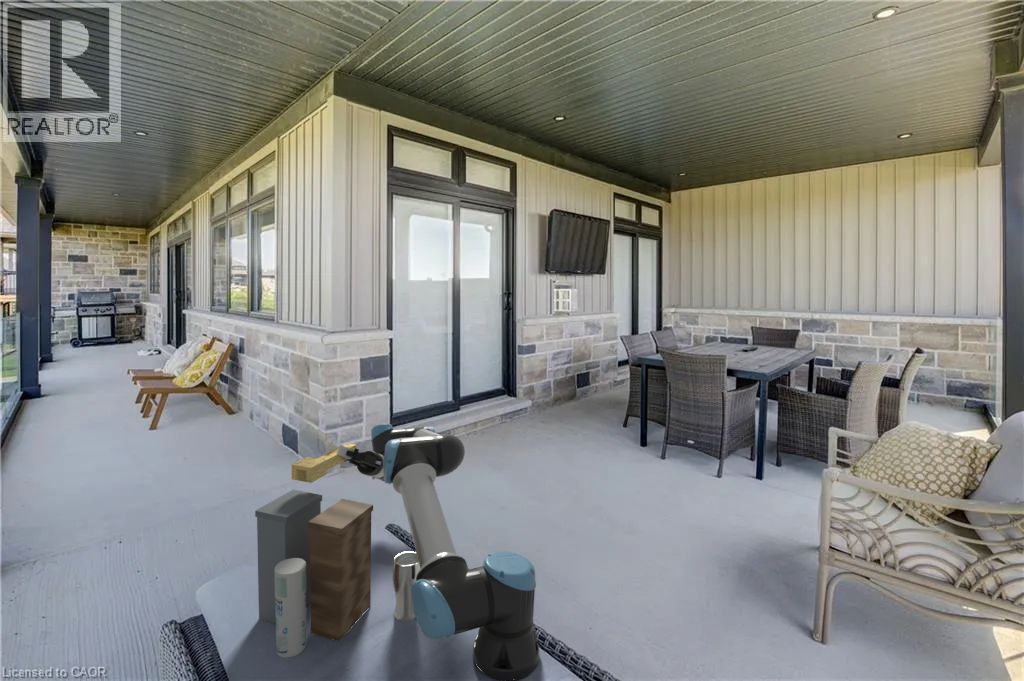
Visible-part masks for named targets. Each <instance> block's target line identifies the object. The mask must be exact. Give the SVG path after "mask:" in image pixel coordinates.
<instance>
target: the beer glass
mask: <svg viewBox="0 0 1024 681" xmlns="http://www.w3.org/2000/svg"><path fill="white" fill-rule="evenodd" d="M419 571H420V565H419V561H418V557H417V553H416V551H415V552H414V551H403V552H401V553H398V554H397V555H395V557H394V558H393V566H392V586H393V590H394V596H395V605H394V610H393V617H394V619H396V620H397V619H398V620H397V621H399V620H400V621H399V622H403V621H406V622H411V621H413V620H414V619H416V617H415V613H414V609H413V607H414V605H413V602H412V586H413V584H414V583H415V582H416V576H417V574H418V572H419Z"/></svg>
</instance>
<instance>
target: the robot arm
mask: <svg viewBox="0 0 1024 681" xmlns="http://www.w3.org/2000/svg"><path fill="white" fill-rule="evenodd" d="M370 432H371V445H372V450H366V451H364V452H363V451H362V452H359V449H358V448H357V447H356V448H355V450H354V452H353V450H352V449H349V448H347V447H344V446H343V445H341V444H339V445H338V446H337V445H335V444H332V443H330V442H329V443H327V446H326V448H325V452H324V453H325V454H327V453H329V452H331V451H333V450H335V449H337V448H338V452H337V455H339V456H342V457H344V458H347V460H345V461H343V462H344V463H346V462H347V463H348V462H349V464H351V465H353V466H355V467H356V468H357V470H358V472H359V473H360V474H362V475H364V476H367V477H370V478H371V479H372V480H375V479H377V480H380V481H382V482H383V483H385V484H389V485H392V487H393V489H394V491H395V492H396V493H398V494H400V495H401V498H402V502H403V506H404V509H405V515H406V517H407V522H408V527H409V530H410V534H411V538H412V542H413V544H414V548H415V553H417V557H418V561H419V565H420V571H419V572H418V574H417V576H416V582H415V583H414V584H413V586H412V602H413V605H414V607H413V609H414V613H415V617H416V618H415V619H416V622H417V625H418V627H419V629H420V631H421V632H422V634H423V635H424V636H425V637H427V638H428V639H430V640H438V639H442V638H451V637H453V636H456V635H458V634H462V633H466V632H468V631H469V632H470V631H473V630H475V629H478V633H477V635H476V637H475V639H474V641H473V647H472V648H473V649H472V650H473V651H472V659H473V662H474V664H475V663H476V664H477V666H478V667H479V668H480V669H481V670H482V671H483V672H484V673H485V674H484V675H485V676H486V675H487V677H489V678H491V679H494V680H496V681H497V680H498V681H501V680H502V681H503V680H513V679H518V680H521V679H524V678H525V677H528V676H529V675H530V674H532V673H533V672H534V671H535V669H536V668H537V666H538V664H539V660H540V646H539V644H540V643H539V640H538V638H537V634H536V630H535V628H534V614H535V613H534V612H535V596H536V594H535V592H536V588H537V582H536V570H535V566H534V565H533V563H532V562H531V560H529V559H528V558H527V557H525V556H523V555H521V554H519V553H516V552H512V551H506V550H499V551H498V550H497V551H494V552H491V553H488V555H487V556H485V558H484V561H483V564H482V566H478V567H472V568H469V566H468V564H467V561H466V559H465V558H464V557H463V556H461V555H459V554H457V552H456V549H455V547H454V546H455V545H454V543H453V540H452V536H451V533H450V531H449V528H448V524H447V521H446V518H445V515H444V512H443V509H442V505H441V503H440V502H441V501H440V499H439V496H438V493H437V489H436V486H435V484H434V483H435V481H436V478H439V477H444V476H446V475H449V474H451V473H453V472H454V471H456V470H457V469H458V468H459V467H460V465H461V464H462V463H463V461H464V459H465V452H466V451H465V446H464V444H463V442H462V440H461V439H460V438H458V436H456V435H453V434H449V433H444V434H440V433H436V430H435V428H434V427H433V426H421V427H412V428H399V429H397V428H396V429H394V427H393V425H392V424H390V423H385V422H383V423H378V424H375V425H374V426H373V427H372V428H371V431H370ZM343 462H342V463H343ZM477 666H476V667H477Z"/></svg>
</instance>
